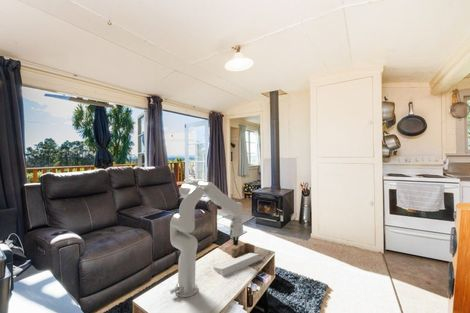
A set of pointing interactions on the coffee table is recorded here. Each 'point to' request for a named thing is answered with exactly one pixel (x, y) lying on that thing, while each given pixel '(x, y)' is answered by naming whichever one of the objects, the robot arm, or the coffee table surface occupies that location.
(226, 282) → the coffee table surface
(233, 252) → the wooden corner bracket
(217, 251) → the coffee table surface
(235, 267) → the decorative molding
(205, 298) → the coffee table surface
